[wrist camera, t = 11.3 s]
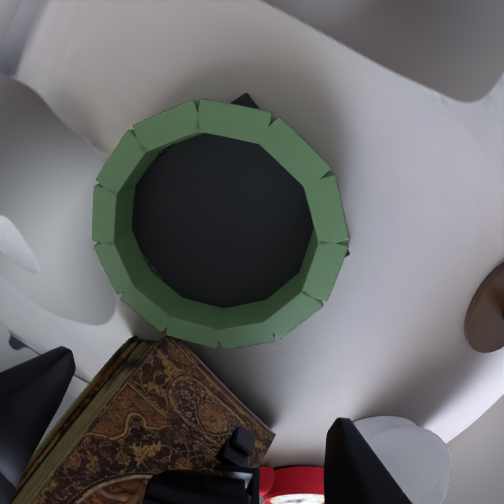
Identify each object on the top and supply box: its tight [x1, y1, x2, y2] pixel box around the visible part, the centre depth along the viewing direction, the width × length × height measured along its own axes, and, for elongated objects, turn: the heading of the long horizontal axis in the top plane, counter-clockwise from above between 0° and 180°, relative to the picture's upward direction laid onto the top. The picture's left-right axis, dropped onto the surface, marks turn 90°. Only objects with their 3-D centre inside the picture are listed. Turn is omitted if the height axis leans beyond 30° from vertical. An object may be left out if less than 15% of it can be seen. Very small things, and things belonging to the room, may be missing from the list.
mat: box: [132, 93, 350, 308], centre depth 18 cm, size 11×11×1 cm
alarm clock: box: [259, 466, 324, 504], centre depth 29 cm, size 10×6×15 cm
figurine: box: [353, 416, 452, 504], centre depth 19 cm, size 11×11×15 cm
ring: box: [92, 99, 349, 350], centre depth 16 cm, size 14×14×2 cm
